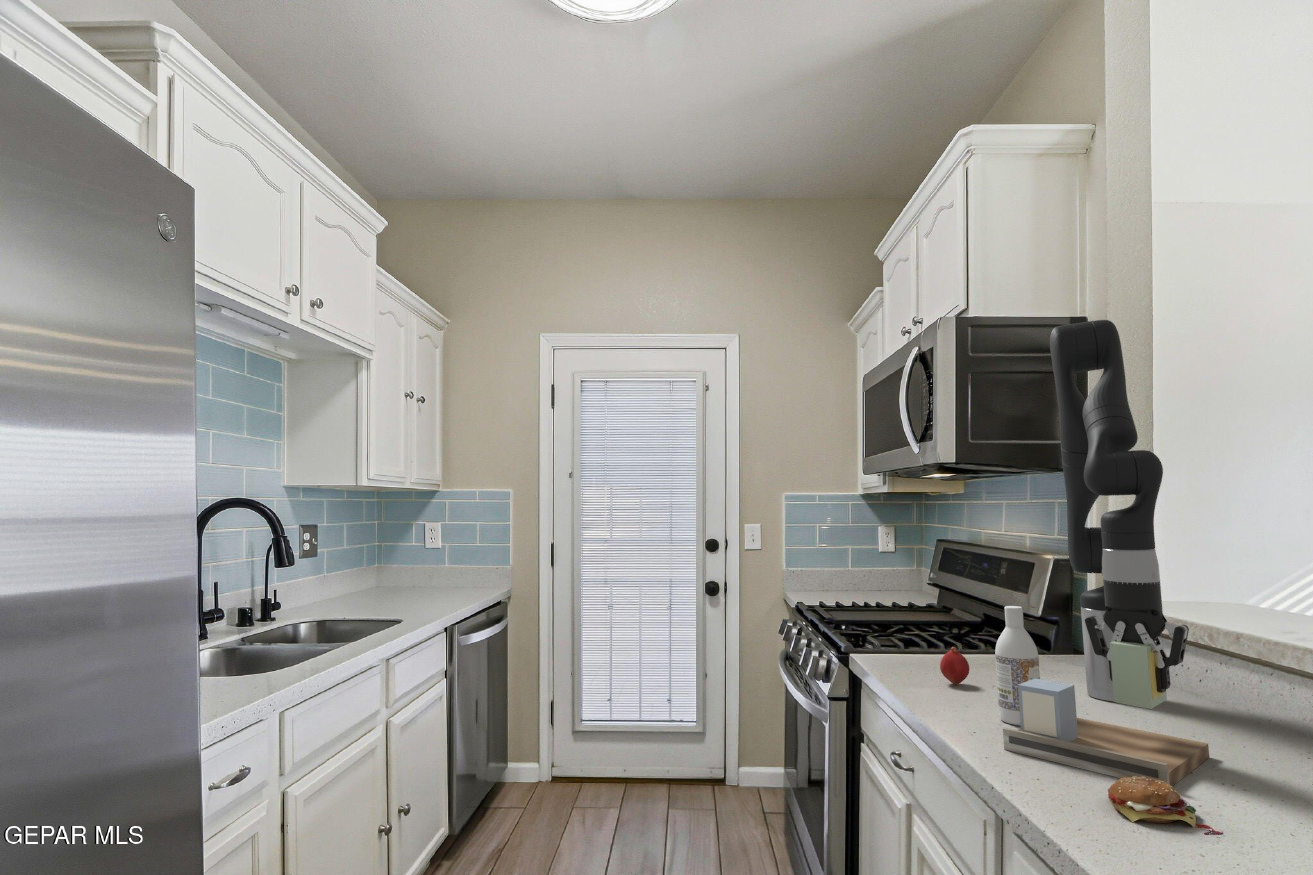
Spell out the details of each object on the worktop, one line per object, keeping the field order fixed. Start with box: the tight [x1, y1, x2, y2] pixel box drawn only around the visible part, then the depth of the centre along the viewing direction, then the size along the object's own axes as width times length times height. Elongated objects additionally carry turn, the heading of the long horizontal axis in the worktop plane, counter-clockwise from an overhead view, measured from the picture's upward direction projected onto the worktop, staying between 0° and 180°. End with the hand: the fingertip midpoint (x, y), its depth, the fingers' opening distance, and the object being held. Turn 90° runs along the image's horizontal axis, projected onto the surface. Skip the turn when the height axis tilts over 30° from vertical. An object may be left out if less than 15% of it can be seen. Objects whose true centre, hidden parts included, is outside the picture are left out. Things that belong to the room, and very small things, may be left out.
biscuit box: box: [1018, 678, 1078, 742], centre depth 114 cm, size 6×6×8 cm
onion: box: [939, 646, 970, 686], centre depth 155 cm, size 6×6×8 cm
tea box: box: [1110, 639, 1168, 710], centre depth 113 cm, size 5×7×9 cm
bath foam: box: [994, 605, 1041, 727], centre depth 130 cm, size 7×7×20 cm
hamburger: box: [1107, 776, 1224, 836], centre depth 89 cm, size 14×14×6 cm
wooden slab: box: [1002, 717, 1210, 787], centre depth 112 cm, size 19×22×3 cm
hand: (1139, 687), depth 112 cm, fingers closed on tea box, 5 cm apart
